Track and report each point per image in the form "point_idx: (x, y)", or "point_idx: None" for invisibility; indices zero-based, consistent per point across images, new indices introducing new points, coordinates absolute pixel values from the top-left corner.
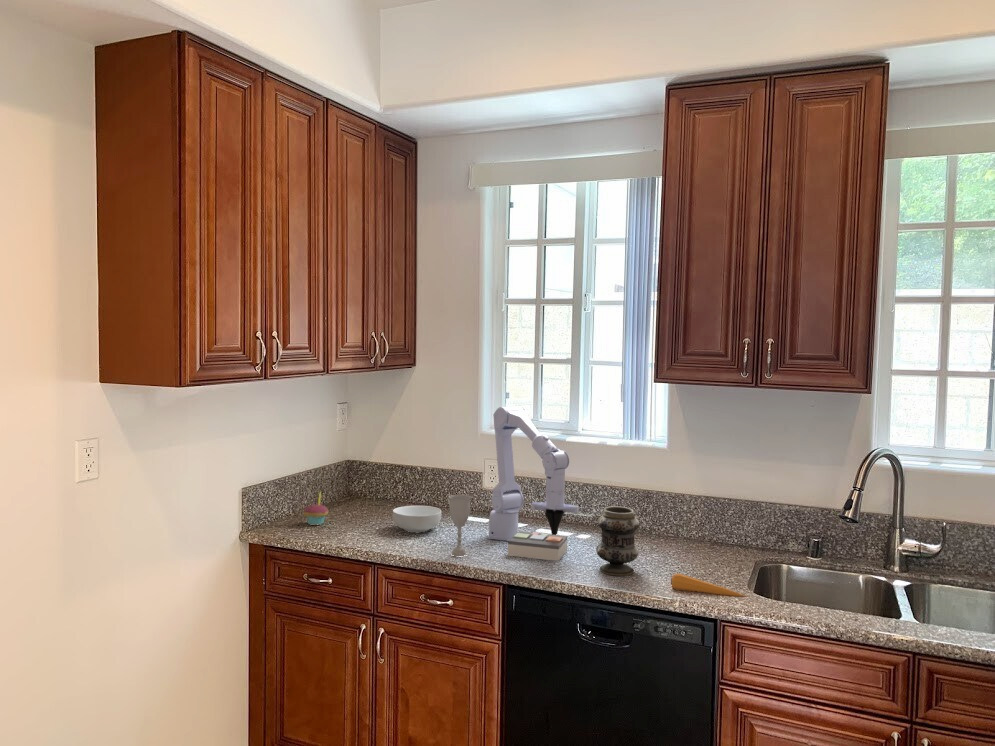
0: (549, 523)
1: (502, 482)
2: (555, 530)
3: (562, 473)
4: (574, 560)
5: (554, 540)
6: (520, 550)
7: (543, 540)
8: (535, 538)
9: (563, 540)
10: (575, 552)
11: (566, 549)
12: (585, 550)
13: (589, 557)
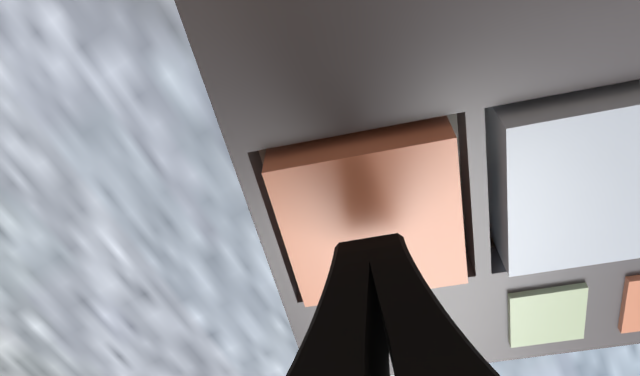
0: (472, 353)
1: None
2: (336, 280)
3: None
4: (97, 70)
5: (331, 160)
6: None
7: (499, 148)
8: (627, 109)
9: (268, 257)
10: (230, 269)
11: None
12: (196, 336)
13: (59, 215)
